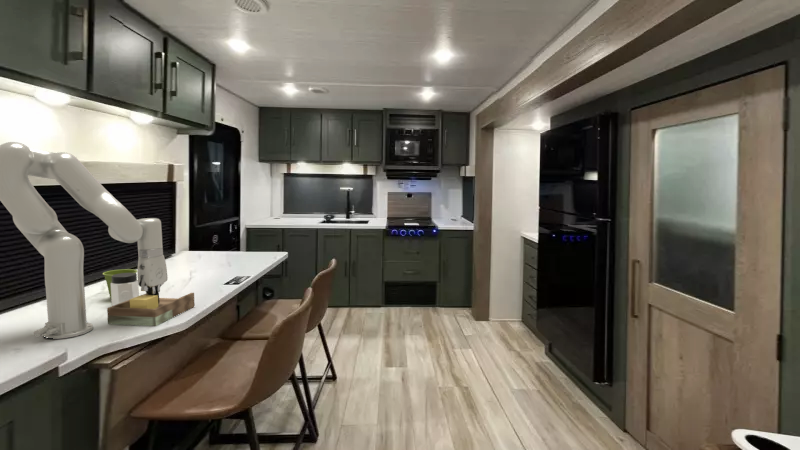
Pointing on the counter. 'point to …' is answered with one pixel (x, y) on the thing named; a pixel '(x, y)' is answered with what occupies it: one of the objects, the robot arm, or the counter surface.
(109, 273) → the plant pot
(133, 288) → the jar
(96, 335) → the counter surface
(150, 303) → the block
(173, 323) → the counter surface
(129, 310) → the wooden tray
